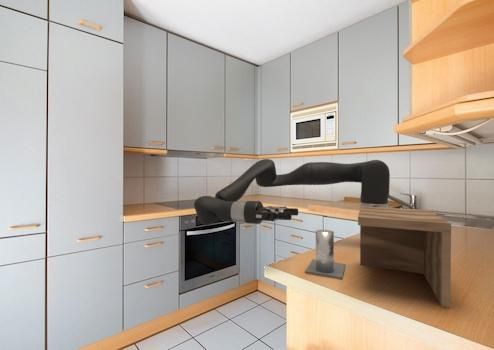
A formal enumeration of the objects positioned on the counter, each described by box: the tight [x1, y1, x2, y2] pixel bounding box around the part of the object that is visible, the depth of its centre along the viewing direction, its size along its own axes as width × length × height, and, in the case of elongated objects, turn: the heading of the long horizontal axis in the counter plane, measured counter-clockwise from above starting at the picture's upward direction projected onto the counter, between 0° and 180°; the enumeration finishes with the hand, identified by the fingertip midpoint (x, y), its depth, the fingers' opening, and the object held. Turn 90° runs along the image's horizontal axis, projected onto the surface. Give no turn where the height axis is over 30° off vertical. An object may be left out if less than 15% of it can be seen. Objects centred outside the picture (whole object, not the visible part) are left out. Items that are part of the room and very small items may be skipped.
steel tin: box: [315, 229, 335, 273], centre depth 74 cm, size 5×5×11 cm
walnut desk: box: [357, 206, 452, 309], centre depth 67 cm, size 21×18×18 cm
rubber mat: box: [304, 258, 347, 280], centre depth 76 cm, size 11×10×1 cm
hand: (294, 214), depth 79 cm, fingers open, 8 cm apart
